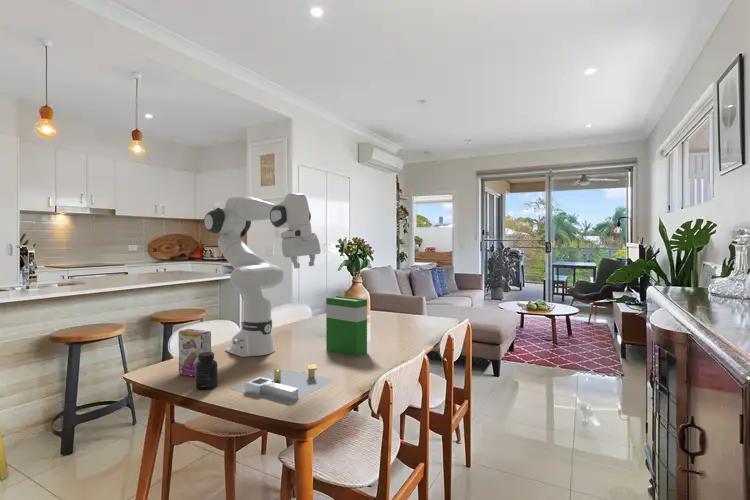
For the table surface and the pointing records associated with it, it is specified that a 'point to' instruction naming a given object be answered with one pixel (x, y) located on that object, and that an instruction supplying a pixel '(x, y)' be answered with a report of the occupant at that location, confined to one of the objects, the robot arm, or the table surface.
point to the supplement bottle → (206, 372)
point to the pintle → (277, 376)
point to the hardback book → (346, 325)
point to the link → (271, 389)
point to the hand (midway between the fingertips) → (304, 267)
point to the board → (291, 384)
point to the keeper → (311, 370)
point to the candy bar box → (192, 348)
